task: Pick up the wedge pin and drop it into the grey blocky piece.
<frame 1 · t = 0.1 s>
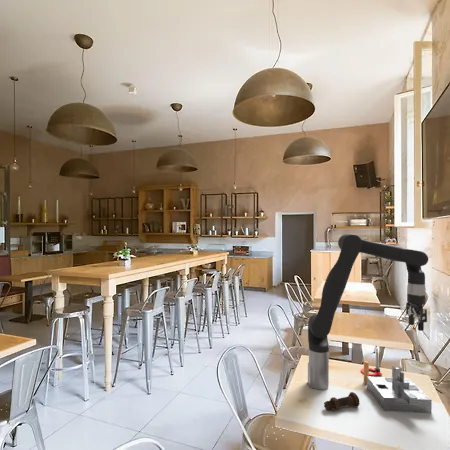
hand: (415, 327, 153), 29 cm above the table, fingers open, 8 cm apart
wedge pin: (366, 382, 159), on the table
bolt: (340, 408, 137), on the table
tow hook: (370, 373, 170), on the table
grey blocky piece: (397, 399, 143), on the table
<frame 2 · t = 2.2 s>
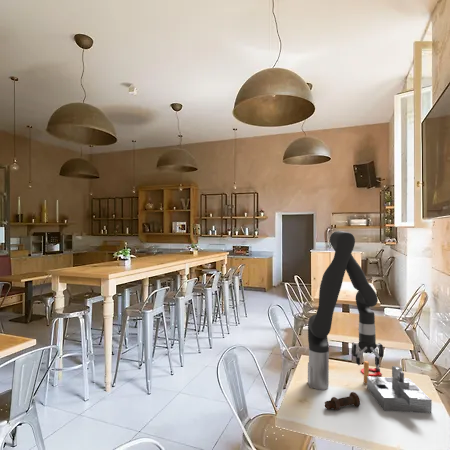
hand: (367, 364, 159), 9 cm above the table, fingers open, 8 cm apart
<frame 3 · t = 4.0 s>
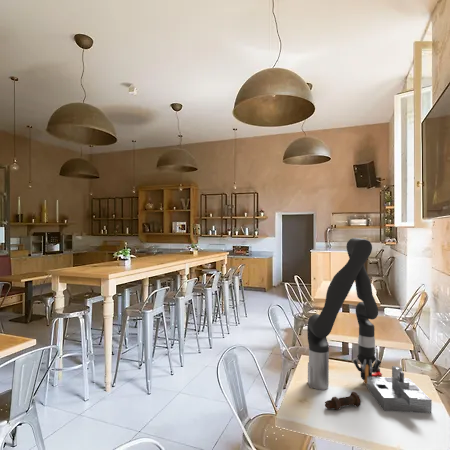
hand: (366, 379, 159), 2 cm above the table, fingers closed on wedge pin, 2 cm apart
wedge pin: (366, 382, 159), on the table, touching gripper
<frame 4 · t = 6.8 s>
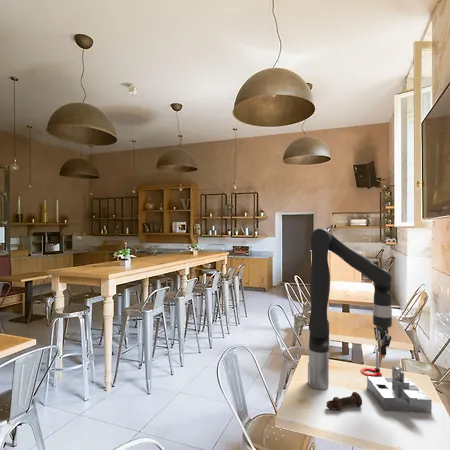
hand: (382, 353, 144), 20 cm above the table, fingers closed on wedge pin
wedge pin: (382, 357, 144), point 19 cm above the table, touching gripper
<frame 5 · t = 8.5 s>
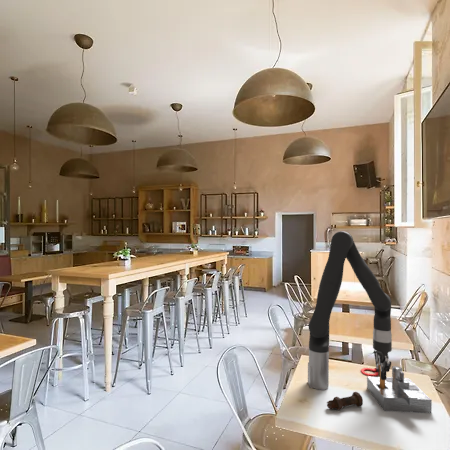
hand: (382, 377, 144), 9 cm above the table, fingers closed on wedge pin
wedge pin: (382, 387, 144), point 5 cm above the table, touching gripper
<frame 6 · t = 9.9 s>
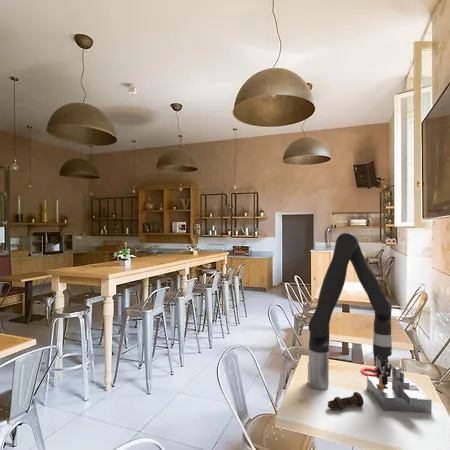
hand: (381, 381, 144), 8 cm above the table, fingers open, 5 cm apart
wedge pin: (381, 398, 144), resting in grey blocky piece
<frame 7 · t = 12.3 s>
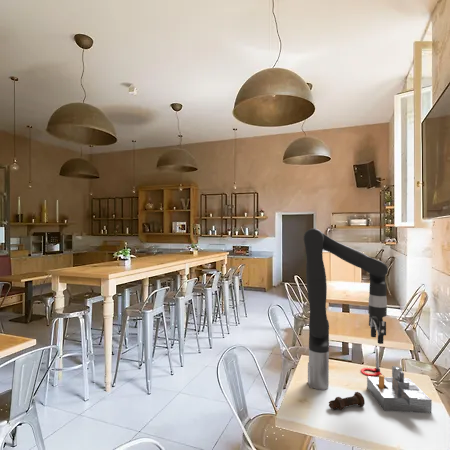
hand: (376, 340, 148), 25 cm above the table, fingers open, 8 cm apart
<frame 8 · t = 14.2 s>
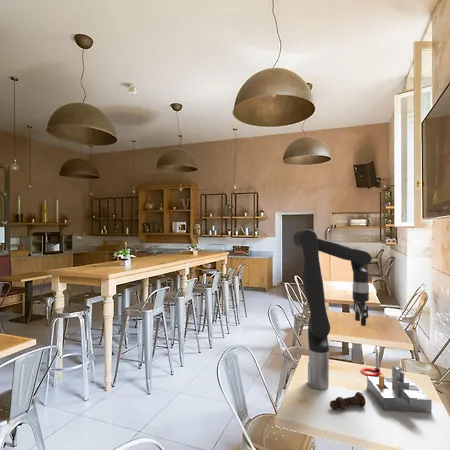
hand: (360, 323, 162), 28 cm above the table, fingers open, 8 cm apart
at the end: wedge pin 0.5 cm from the target spot on the grey blocky piece, point 0.0 cm above the grey blocky piece's base; the gripper is holding nothing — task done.
